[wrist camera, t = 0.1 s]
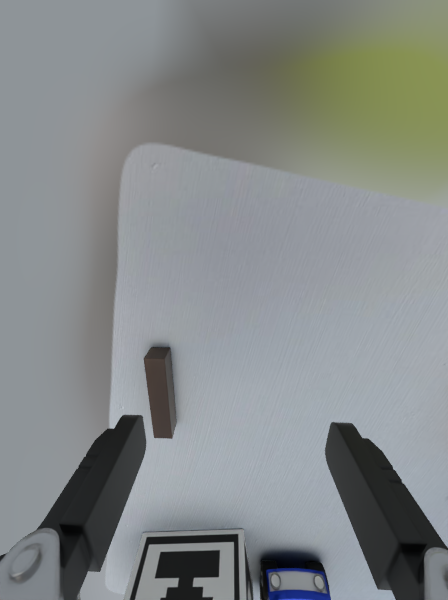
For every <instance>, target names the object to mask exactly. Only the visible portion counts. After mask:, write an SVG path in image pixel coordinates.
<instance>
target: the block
mask: <svg viewBox="0 0 448 600" xmlns="http://www.w3.org/2000/svg"><path fill="white" fill-rule="evenodd" d="M124 600H253V584H252V578H251V572H250V566H249V560H248V554H247V548H246V542H245V536H244V530H243V529H232V530H203V531H175V532H146V533H143V534H142V538H141V541H140V544H139V548H138V551H137V555H136V558H135V562H134V565H133V568H132V572H131V575H130V579H129V582H128V586H127V589H126V593H125V596H124Z"/></svg>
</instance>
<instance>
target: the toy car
mask: <svg viewBox="0 0 448 600" xmlns="http://www.w3.org/2000/svg"><path fill="white" fill-rule="evenodd" d="M260 600H331V597H330V592H329V585H328V580H327V576H326V573H325V570H324V567H323V565H322V563H315V562H306V564H305V569H301V568H279V569H278V567H277V563H276V561H261V578H260Z"/></svg>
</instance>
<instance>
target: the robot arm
mask: <svg viewBox="0 0 448 600" xmlns="http://www.w3.org/2000/svg"><path fill="white" fill-rule="evenodd" d="M145 450H146V436H145V429H144V423H143V417H142V416H141V415H123V416H122V417H121V418H120V420H119V421H118V423H117V425H116V427H115V428H114V429H107V430H106V431H105V432H104V433H103V434H101V435H100V436H99V437H98V438H97V439H96V440H95V441H94V443H93V444H92V446H91V448H90V449H89V451H88V452H87V454H86V457H84V459H83V460H82V462H81V463H80V465H79V468H78V469H77V470H76V471H75V473H74V474H73V476H72V477H71V479H70V480H69V482H68V484H67V485H66V487H65V488H64V490H63V491H62V493H61V494H60V496H59V497H58V499H57V501H56V502H55V504H54V505H53V507H52V508H51V510H50V512H49V513H48V515H47V516H46V518H45V519H44V521H43V522H42V523H41V525H40V526H39V527H38V528H37V530H36V531H34V532H32V533H30V534H28V535H27V536H25V537H24V538H23V539H21V540H20V541H19V542H18V543H17V544H16V545H15V546H13V547H12V548H11V549H10V551H9V552H8V553H6V554H4V555H1V556H0V600H80V589H81V587H82V584H83V582H84V579H85V577H86V575H87V572H88V571H95V572H100V570H101V567H102V565H103V562H104V560H105V557H106V554H107V552H108V549H109V547H110V544H111V541H112V539H113V536H114V533H115V531H116V528H117V526H118V523H119V520H120V518H121V515H122V513H123V510H124V507H125V505H126V502H127V500H128V497H129V494H130V492H131V489H132V487H133V484H134V481H135V479H136V476H137V473H138V471H139V468H140V466H141V463H142V460H143V458H144V454H145ZM325 455H326V461H327V464H328V467H329V470H330V472H331V475H332V477H333V480H334V482H335V484H336V487H337V489H338V492H339V494H340V497H341V499H342V502H343V504H344V507H345V509H346V512H347V514H348V517H349V519H350V522H351V524H352V527H353V529H354V532H355V534H356V537H357V539H358V541H359V544H360V546H361V549H362V551H363V554H364V556H365V559H366V561H367V564H368V566H369V569H370V571H371V574H372V576H373V579H374V581H375V584H376V586H377V589H381V590H392V592H393V594H394V597H395V599H396V600H448V548H447V546H446V545H445V544H444V542H443V541H442V540H441V538H440V537H439V535H438V534H437V532H436V531H435V529H434V528H433V526H432V525H431V523H430V522H429V520H428V519H427V517H426V516H425V514H424V513H423V511H422V510H421V508H420V507H419V505H418V504H417V503H416V501H415V500H414V498H413V497H412V495H411V494H410V492H409V491H408V489H407V488H406V486H405V485H404V484H403V483H402V480H401V479H400V477H399V476H398V474H397V473H396V471H395V470H393V467H392V465H391V464H390V462H389V461H388V459H387V458H386V456H385V455H384V453H383V452H382V451H381V450H380V449H379V448H378V447H377V446H376V445H375V444H374V443H373V442H371V441H370V440H369V439H365V438H362V437H361V436H360V434H359V432H358V431H357V429H356V428H355V426H354V425H353V424H352V423H335V422H332V423H331V425H330V429H329V433H328V438H327V443H326V448H325Z"/></svg>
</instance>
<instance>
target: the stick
mask: <svg viewBox="0 0 448 600" xmlns="http://www.w3.org/2000/svg"><path fill="white" fill-rule="evenodd" d="M144 364H145V371H146V379H147V387H148V395H149V402H150V410H151V418H152V425H153V433H154V438H172V437H173V434H174V430H175V427H176V411H175V399H174V387H173V375H172V363H171V351H170V348H154V347H152V348H150V350H149V351H148V353H147V354H146V356H145V357H144Z"/></svg>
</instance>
